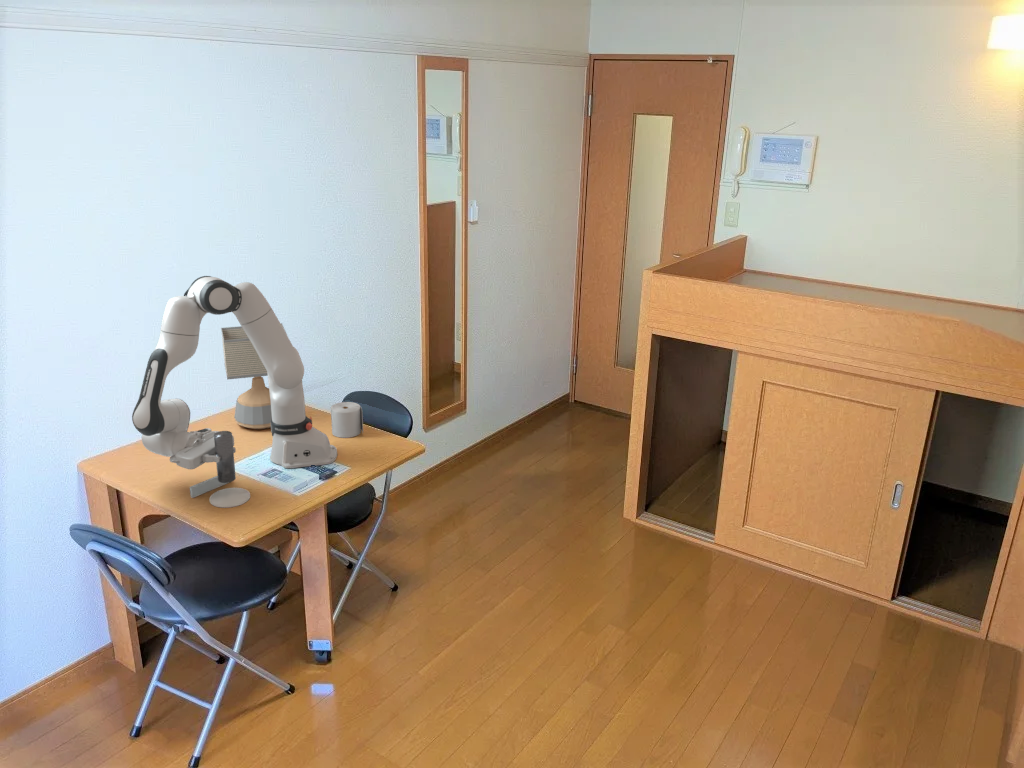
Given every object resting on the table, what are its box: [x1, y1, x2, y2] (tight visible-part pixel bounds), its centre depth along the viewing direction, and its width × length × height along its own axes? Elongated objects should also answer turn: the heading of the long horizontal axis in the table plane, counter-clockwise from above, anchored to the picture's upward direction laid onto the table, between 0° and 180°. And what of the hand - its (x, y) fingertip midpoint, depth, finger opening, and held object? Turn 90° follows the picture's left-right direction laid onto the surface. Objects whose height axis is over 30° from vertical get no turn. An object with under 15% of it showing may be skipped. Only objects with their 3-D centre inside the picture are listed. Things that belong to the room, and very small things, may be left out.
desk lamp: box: [220, 322, 287, 430], centre depth 308 cm, size 22×19×37 cm
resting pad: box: [208, 487, 251, 509], centre depth 258 cm, size 12×12×1 cm
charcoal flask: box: [214, 430, 237, 484], centre depth 254 cm, size 5×5×15 cm
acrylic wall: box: [189, 475, 231, 499], centre depth 263 cm, size 14×1×4 cm, turn 144°
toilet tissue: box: [330, 401, 364, 439], centre depth 306 cm, size 11×12×10 cm
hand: (227, 455), depth 253 cm, fingers closed on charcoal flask, 5 cm apart
